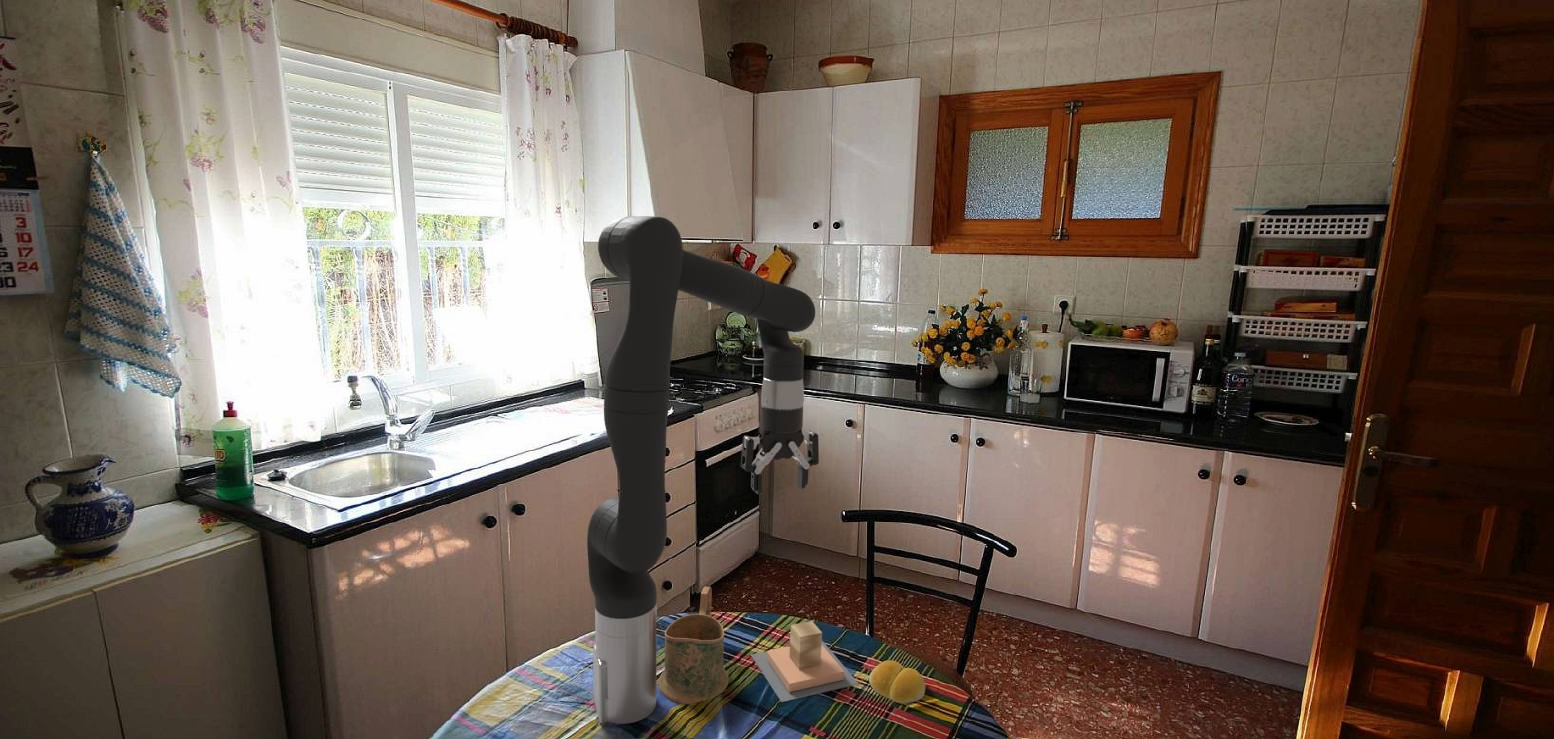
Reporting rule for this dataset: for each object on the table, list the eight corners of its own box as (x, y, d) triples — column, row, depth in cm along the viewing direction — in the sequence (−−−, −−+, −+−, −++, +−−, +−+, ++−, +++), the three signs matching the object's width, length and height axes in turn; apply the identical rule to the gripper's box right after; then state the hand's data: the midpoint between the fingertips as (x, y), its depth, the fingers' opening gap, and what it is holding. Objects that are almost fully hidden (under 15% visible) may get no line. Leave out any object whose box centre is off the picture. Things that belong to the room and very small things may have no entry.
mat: (781, 704, 113) (781, 701, 113) (750, 656, 126) (750, 654, 126) (858, 685, 118) (858, 683, 118) (821, 642, 131) (821, 640, 131)
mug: (739, 645, 129) (740, 584, 127) (722, 707, 112) (723, 637, 110) (676, 640, 130) (677, 579, 128) (650, 700, 113) (650, 631, 111)
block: (799, 670, 119) (800, 637, 118) (789, 657, 122) (790, 624, 121) (820, 665, 120) (822, 632, 119) (810, 652, 124) (812, 620, 123)
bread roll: (912, 713, 112) (913, 690, 112) (862, 691, 117) (863, 669, 117) (933, 688, 119) (935, 666, 118) (886, 668, 124) (887, 647, 123)
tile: (766, 659, 124) (789, 693, 115) (766, 650, 124) (789, 683, 115) (817, 649, 128) (843, 680, 119) (818, 640, 128) (844, 671, 119)
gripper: (809, 396, 132) (806, 479, 135) (737, 400, 127) (735, 487, 130) (827, 405, 125) (823, 492, 128) (752, 410, 120) (749, 501, 123)
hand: (779, 489), depth 129 cm, fingers open, 8 cm apart
